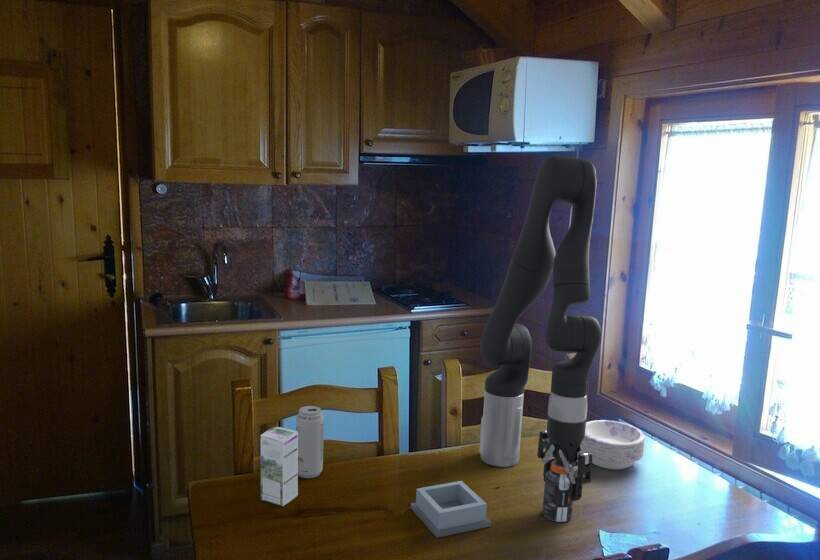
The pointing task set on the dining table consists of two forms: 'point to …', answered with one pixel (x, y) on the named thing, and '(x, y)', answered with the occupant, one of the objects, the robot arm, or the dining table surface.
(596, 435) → the paper bowls
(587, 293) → the robot arm
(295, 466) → the syrup box
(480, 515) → the holder
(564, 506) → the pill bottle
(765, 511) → the dining table surface
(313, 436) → the energy drink can
